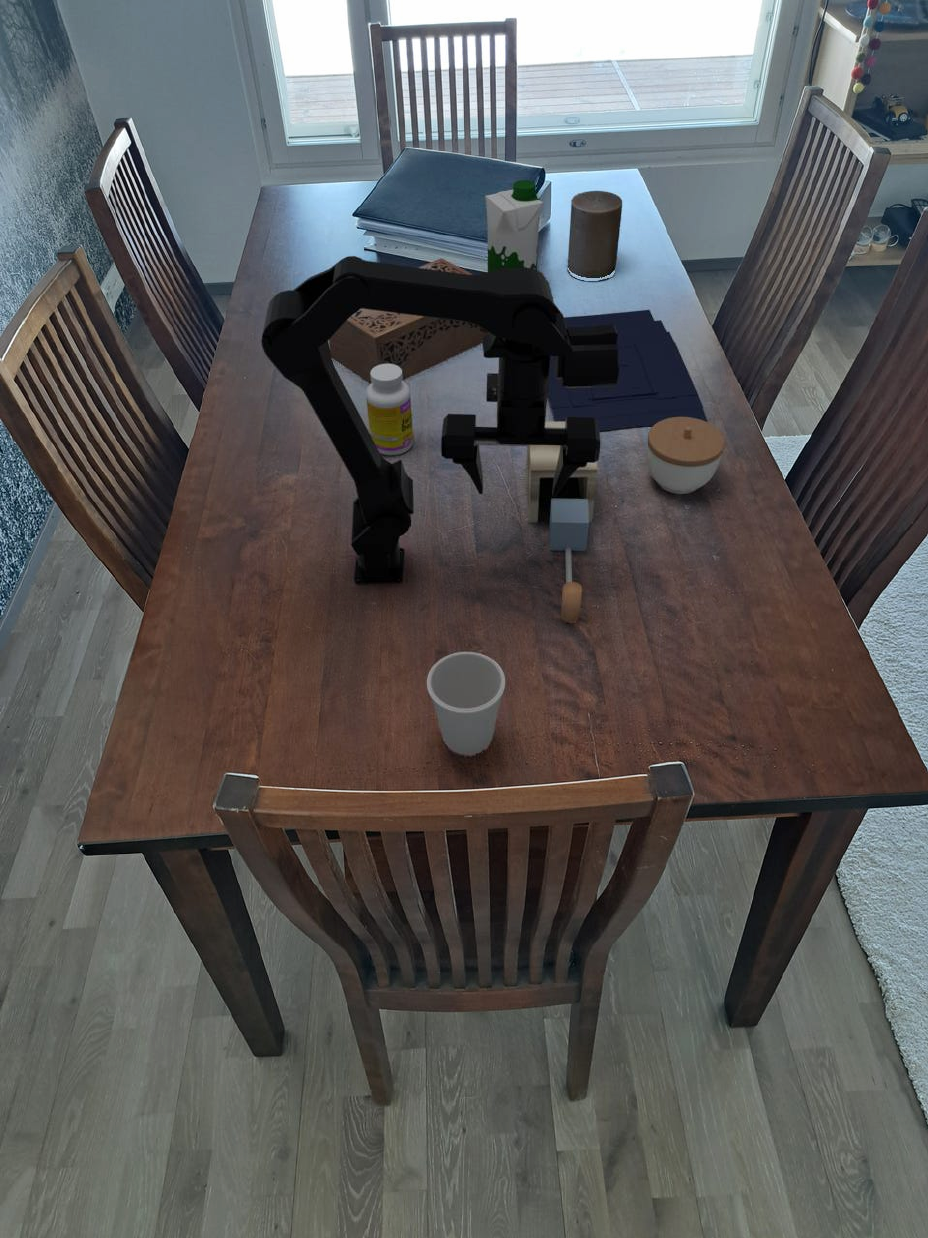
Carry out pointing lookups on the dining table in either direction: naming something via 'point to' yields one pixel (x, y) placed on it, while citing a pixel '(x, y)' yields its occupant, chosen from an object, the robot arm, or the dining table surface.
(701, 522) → the dining table surface
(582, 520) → the tethered block
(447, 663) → the dixie cup
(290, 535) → the dining table surface
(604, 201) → the pillar candle
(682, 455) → the lidded jar
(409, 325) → the tissue box cover
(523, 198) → the milk carton
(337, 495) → the dining table surface
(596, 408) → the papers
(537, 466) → the cubby lane
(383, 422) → the supplement bottle
